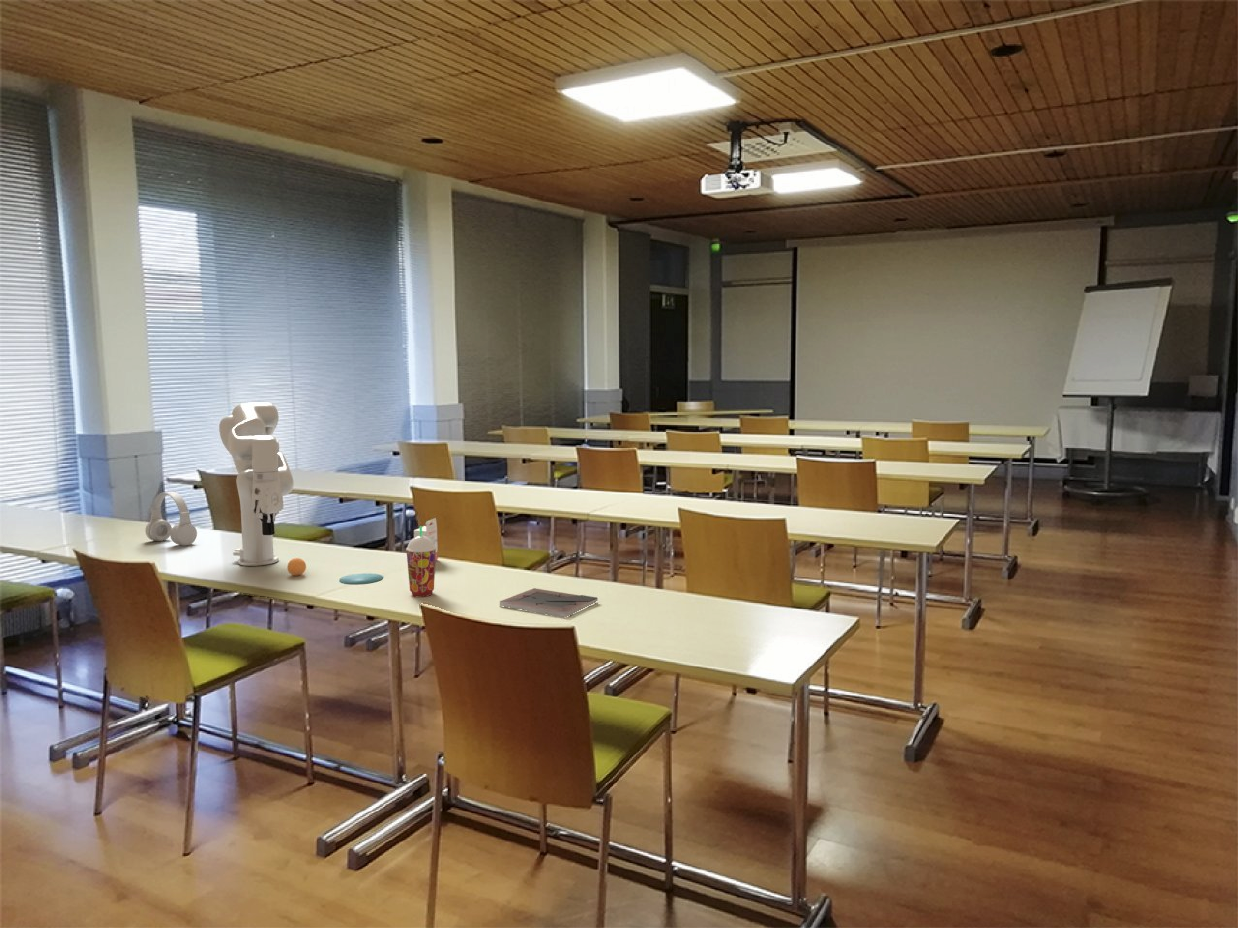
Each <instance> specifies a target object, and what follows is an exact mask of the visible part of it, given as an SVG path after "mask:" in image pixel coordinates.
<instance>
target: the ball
mask: <svg viewBox="0 0 1238 928" xmlns="http://www.w3.org/2000/svg"><path fill="white" fill-rule="evenodd" d="M306 564H307V563H306V562H305V560H303V559H302V558H300V557H296V558H292V559H291V560H290V561H289V562H288V563H287V571H288V573H290V575H292V576H293V577H294V576H295V577H296V576H301V575H303V574H304V573H305V571H306V568H307V565H306Z"/></svg>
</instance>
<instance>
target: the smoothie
mask: <svg viewBox="0 0 1238 928" xmlns="http://www.w3.org/2000/svg"><path fill="white" fill-rule="evenodd" d="M422 527H423V526H422V525H420V526H419V528H420V536H417V537H414V536H413V538H412V539H411V540H410V541H409V543H408V544H407V547H406V548H405V550H406V560H407V570H408V571H407V572H408V581H409V582H408V584H409V591H410V592H411V595H412V596H414V597H416V596H424V597H428V596H427V595H429V596H431V595H432V594H433V591H434V590H435V575H436V561H435V555H436V547H435V546H434V543H433V542H432V540H431V539H430V538H428V537H426V536H423V535H422ZM430 594H431V595H430Z"/></svg>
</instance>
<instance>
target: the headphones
mask: <svg viewBox="0 0 1238 928" xmlns="http://www.w3.org/2000/svg"><path fill="white" fill-rule="evenodd" d="M166 496H169V497H171V499H172V500H173V501H174V502H175V504H176V507H177V509H178V514H179V515H178V516H179V523H176V524H175V525H174V526H173V527H172V525H171V522H168V520H165V519H163V517H162V516H163V515H162V507H161V506H162V504H163V501H164V499H165V497H166ZM150 513H151V514H150V520H149V522H148V523H147V525H146V527H145V535H146V537H147V538H148V539H149V540H151V541H154V542H163V540H164V541H166V540H167V539H168V538H170V539H171V541H172V543H175V545H179V546H182V547H185V546H187V545H188V546H190V545H192V544H194V542H195V541H196V539H197V536H198V532H197V531H198V530H197V528H196V526H194V525H193V523H192V522H191V518H190V515H191V512H190V511H189V509H188V506H187V504H186V501H185V500H184V498H183V496H181V494H179V493H178V492H176V491H165V492H160V493H159V494H157V495H156V496H155V498H154V499H153V503H152V506H151V508H150Z"/></svg>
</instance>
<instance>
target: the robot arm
mask: <svg viewBox="0 0 1238 928" xmlns="http://www.w3.org/2000/svg"><path fill="white" fill-rule="evenodd" d="M279 418H280V417H279V411H278V409H277V407H276V406H275V405H274V404H273V403H270V402H246V403H245V402H244V403H239V404H238V405H236V406H235V407H234V408H233V410H232V413H231V415H227V416H224V417H223V418H222V419H221V420H220V421H219V426H218V428H219V429H218V431H219V436H220V440H221V442H222V444H223V446H224V448H225V449H226V451H228V453H229V454H230V455H231V456H232V459H233V463H234V465H235V469H236V471H237V473H238V474H237V475H236V476H237V477H236V488H237V492H238V497H239V498H238V499H239V504H240V505H239V507H240V519H241V520H240V521H241V523H240V524H241V542H242V543H241V546H242V548H236V549H234V550H233V553H232V555H233V556H238V557H239V559H237V564H238V565H240V566H245V567H246V566H247V567H248V566H249V567H251V566H252V567H258V566H266V565H272V564H274V563H277V562H279V556H278V555H275V554H274V538H273V537H274V535H275V521H276V516H277V515H279V514H280V512H281V511H282V510H283V509H284V496H286V495H287V496H288V495H289V494H290V493H292V491H293V490H294V478H293V474H292V471H291V469H290V466H289V463H288V461H287V459H286V457H285V455H284V454H283V453H282V452H281V451H280V443H279V441H278V439H277V438H276V437H275V436H273V434H274V431H275V430H276V428H277V426H278V424H279Z"/></svg>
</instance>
